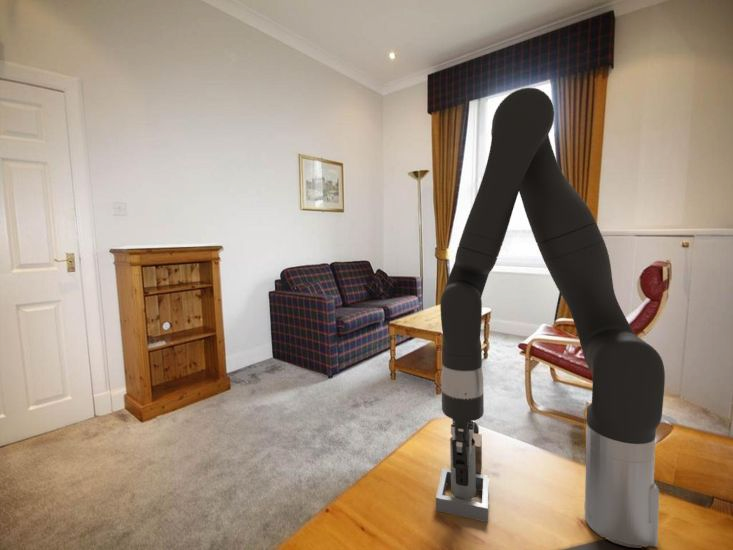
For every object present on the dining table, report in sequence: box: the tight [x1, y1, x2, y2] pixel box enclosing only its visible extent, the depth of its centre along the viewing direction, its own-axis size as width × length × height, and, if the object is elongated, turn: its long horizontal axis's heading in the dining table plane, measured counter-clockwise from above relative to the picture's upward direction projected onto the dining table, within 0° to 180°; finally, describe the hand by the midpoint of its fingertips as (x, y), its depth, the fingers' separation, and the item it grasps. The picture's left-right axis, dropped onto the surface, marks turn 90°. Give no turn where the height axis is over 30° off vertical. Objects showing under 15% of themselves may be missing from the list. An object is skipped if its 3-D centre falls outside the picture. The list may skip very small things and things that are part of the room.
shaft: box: [473, 421, 480, 434], centre depth 81 cm, size 4×10×4 cm, turn 160°
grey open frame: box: [435, 467, 490, 523], centre depth 67 cm, size 9×9×2 cm
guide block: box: [473, 433, 483, 475], centre depth 76 cm, size 6×5×7 cm
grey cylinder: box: [449, 436, 477, 501], centre depth 67 cm, size 4×4×10 cm
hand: (463, 475), depth 67 cm, fingers closed on grey cylinder, 4 cm apart
